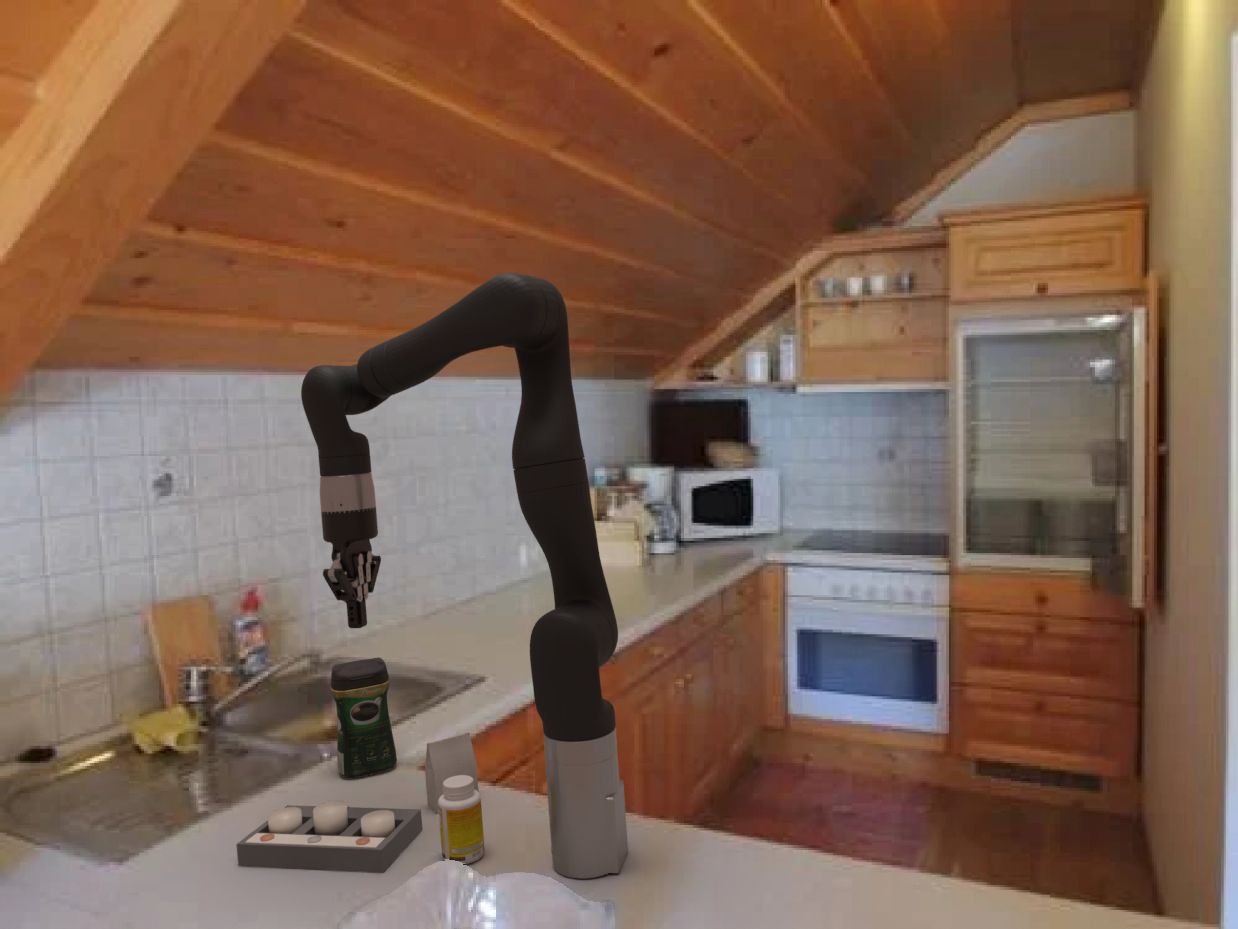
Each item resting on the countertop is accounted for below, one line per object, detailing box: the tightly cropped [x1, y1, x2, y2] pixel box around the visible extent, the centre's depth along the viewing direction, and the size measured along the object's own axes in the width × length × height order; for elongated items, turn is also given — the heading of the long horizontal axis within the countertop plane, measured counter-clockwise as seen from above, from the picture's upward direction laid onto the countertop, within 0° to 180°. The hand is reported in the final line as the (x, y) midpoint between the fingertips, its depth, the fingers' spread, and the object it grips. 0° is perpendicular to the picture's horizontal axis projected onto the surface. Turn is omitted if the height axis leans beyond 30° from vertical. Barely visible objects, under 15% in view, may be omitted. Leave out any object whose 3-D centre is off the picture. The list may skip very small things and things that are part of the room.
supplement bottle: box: [438, 775, 485, 865], centre depth 119 cm, size 6×6×10 cm
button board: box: [236, 804, 423, 873], centre depth 124 cm, size 21×12×3 cm, turn 78°
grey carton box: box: [424, 732, 480, 815], centre depth 136 cm, size 4×7×10 cm, turn 124°
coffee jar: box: [330, 657, 398, 779], centre depth 152 cm, size 10×8×19 cm
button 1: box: [267, 807, 303, 834], centre depth 125 cm, size 4×4×3 cm
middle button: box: [313, 800, 348, 835], centre depth 124 cm, size 4×4×3 cm
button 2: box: [361, 810, 395, 837], centre depth 123 cm, size 4×4×3 cm
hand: (358, 626), depth 129 cm, fingers closed
